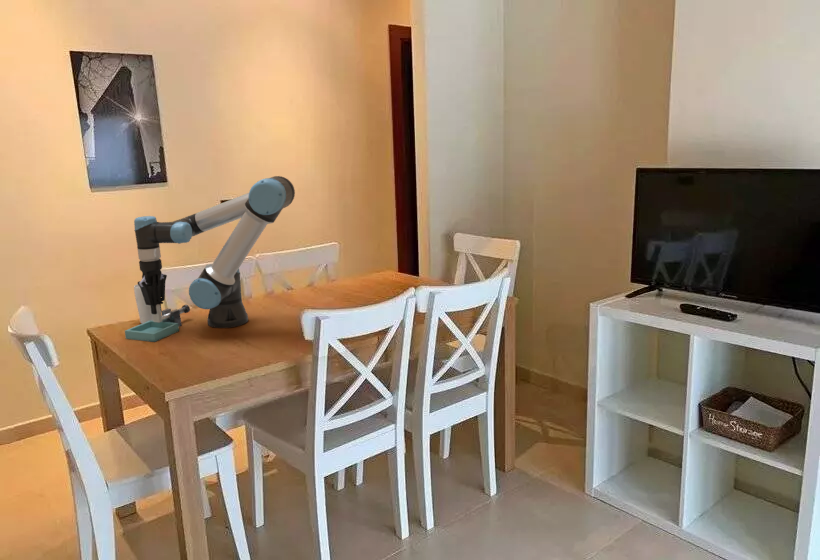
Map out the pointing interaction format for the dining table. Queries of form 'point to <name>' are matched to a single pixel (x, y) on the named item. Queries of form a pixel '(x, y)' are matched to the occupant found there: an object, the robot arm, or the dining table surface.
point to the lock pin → (182, 310)
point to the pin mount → (172, 316)
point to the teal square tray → (151, 331)
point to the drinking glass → (142, 306)
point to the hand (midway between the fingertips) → (157, 321)
